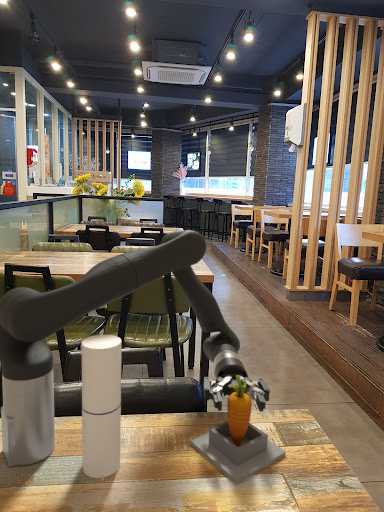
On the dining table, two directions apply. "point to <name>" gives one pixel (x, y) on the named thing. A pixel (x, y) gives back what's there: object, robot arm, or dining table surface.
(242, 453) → the sleeve stand
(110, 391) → the cylindrical container
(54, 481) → the dining table surface
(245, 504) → the dining table surface
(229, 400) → the carrot
